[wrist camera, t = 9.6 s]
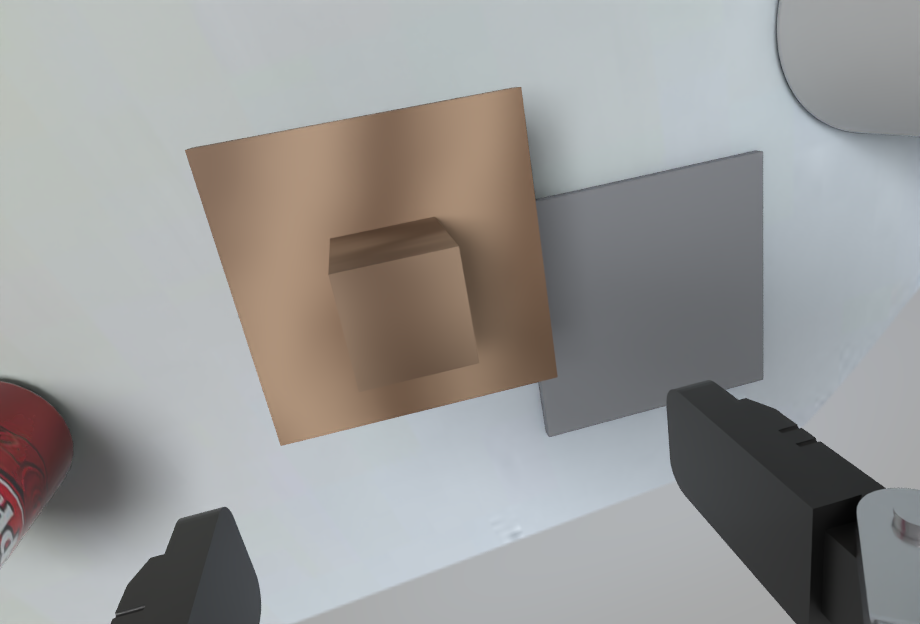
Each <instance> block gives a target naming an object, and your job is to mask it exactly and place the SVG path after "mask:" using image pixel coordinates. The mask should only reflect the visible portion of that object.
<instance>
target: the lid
mask: <svg viewBox="0 0 920 624" xmlns="http://www.w3.org/2000/svg"><path fill="white" fill-rule="evenodd" d="M185 152H186V155H187V158H188V161H189V164H190V167H191V170H192V173H193V177H194V180H195V183H196V186H197V189H198V192H199V195H200V198H201V201H202V204H203V207H204V210H205V214H206V217H207V220H208V223H209V226H210V229H211V232H212V235H213V238H214V241H215V244H216V247H217V251H218V254H219V257H220V260H221V263H222V266H223V269H224V272H225V275H226V278H227V281H228V284H229V287H230V291H231V294H232V297H233V300H234V303H235V306H236V309H237V312H238V315H239V318H240V321H241V324H242V328H243V331H244V334H245V337H246V340H247V343H248V346H249V349H250V352H251V355H252V358H253V361H254V365H255V368H256V371H257V374H258V377H259V380H260V383H261V386H262V389H263V392H264V395H265V398H266V402H267V405H268V408H269V411H270V414H271V417H272V420H273V423H274V426H275V429H276V432H277V435H278V438H279V442H280V445H281V446H282V445H286V444H290V443H294V442H299V441H303V440H307V439H311V438H315V437H319V436H323V435H327V434H331V433H335V432H339V431H343V430H347V429H351V428H355V427H359V426H363V425H367V424H371V423H375V422H379V421H383V420H387V419H391V418H395V417H399V416H403V415H407V414H411V413H415V412H420V411H424V410H428V409H432V408H436V407H440V406H444V405H448V404H452V403H456V402H460V401H464V400H468V399H472V398H476V397H480V396H484V395H488V394H492V393H496V392H500V391H504V390H508V389H512V388H516V387H520V386H524V385H528V384H532V383H536V382H541V381H545V380H549V379H553V378H557V377H558V375H557V367H556V359H555V351H554V343H553V336H552V328H551V320H550V312H549V304H548V296H547V288H546V280H545V272H544V264H543V256H542V248H541V240H540V233H539V225H538V217H537V209H536V201H535V193H534V185H533V177H532V169H531V161H530V153H529V145H528V137H527V130H526V122H525V114H524V106H523V98H522V90H521V87H514V88H508V89H503V90H498V91H492V92H487V93H482V94H476V95H471V96H466V97H460V98H455V99H450V100H444V101H439V102H434V103H429V104H423V105H418V106H413V107H407V108H402V109H397V110H391V111H386V112H381V113H375V114H370V115H365V116H359V117H354V118H349V119H343V120H338V121H333V122H327V123H322V124H317V125H311V126H306V127H301V128H295V129H290V130H285V131H279V132H274V133H269V134H263V135H258V136H253V137H247V138H242V139H237V140H231V141H226V142H221V143H215V144H210V145H205V146H199V147H194V148H190V149H187V150H185Z"/></svg>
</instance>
